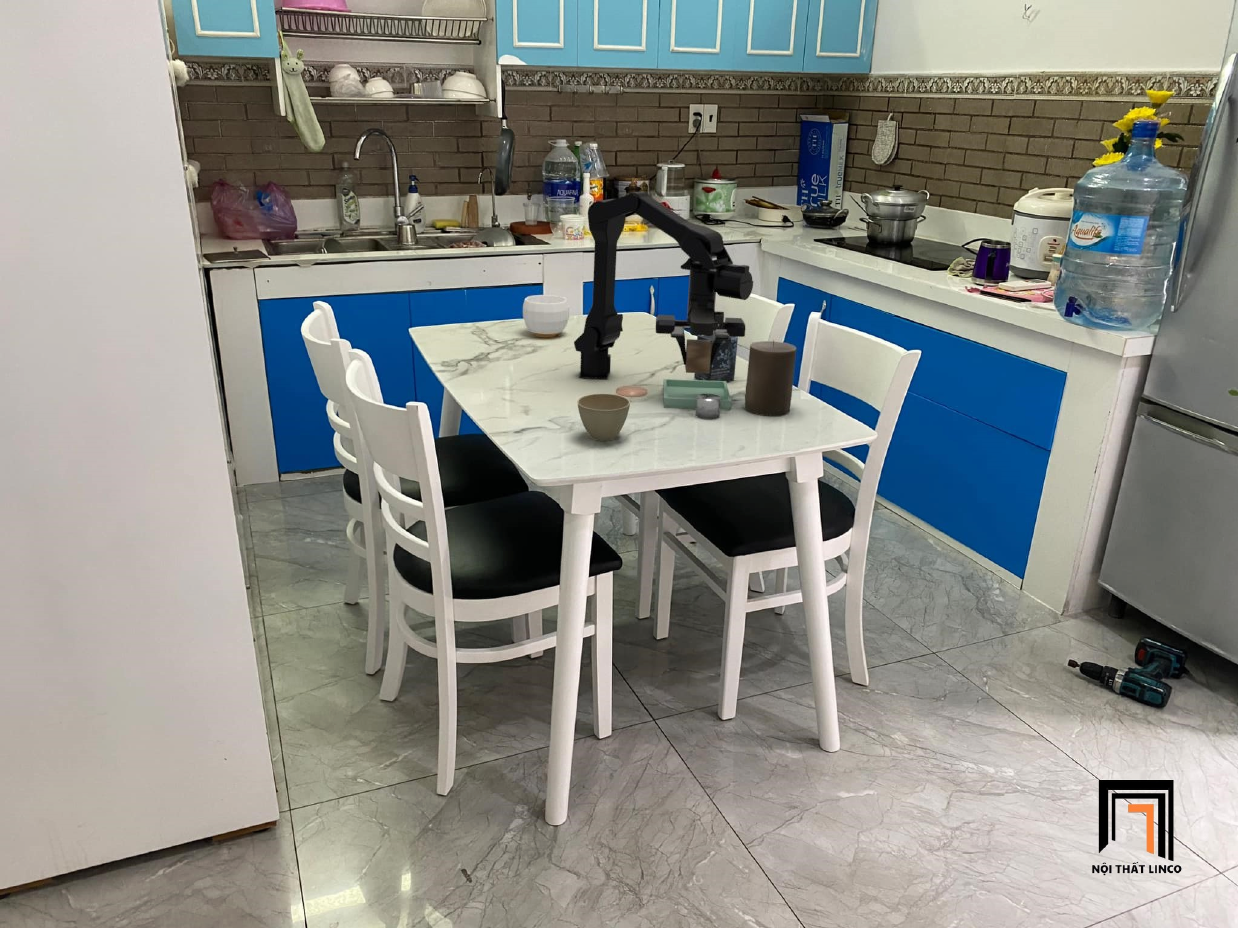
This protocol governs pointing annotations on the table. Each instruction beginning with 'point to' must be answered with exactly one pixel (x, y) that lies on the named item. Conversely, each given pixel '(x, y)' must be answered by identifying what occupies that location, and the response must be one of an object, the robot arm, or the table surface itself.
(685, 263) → the robot arm
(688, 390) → the tray
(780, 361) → the pillar candle
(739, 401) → the table surface
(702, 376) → the box
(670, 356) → the table surface
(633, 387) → the pink dome
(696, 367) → the walnut block
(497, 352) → the table surface
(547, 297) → the cup
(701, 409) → the grey tin
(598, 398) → the flower pot
